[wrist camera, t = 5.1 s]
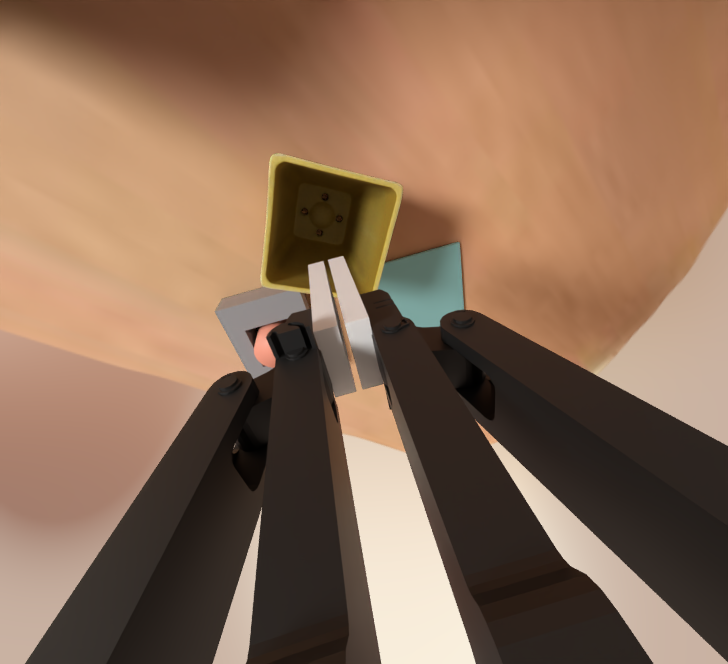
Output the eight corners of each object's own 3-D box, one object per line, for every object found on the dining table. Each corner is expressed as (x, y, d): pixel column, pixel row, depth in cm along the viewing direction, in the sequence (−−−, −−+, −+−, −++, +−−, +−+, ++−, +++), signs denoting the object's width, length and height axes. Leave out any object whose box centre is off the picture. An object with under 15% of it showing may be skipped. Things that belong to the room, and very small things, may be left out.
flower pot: (357, 268, 32) (374, 304, 25) (269, 254, 30) (259, 288, 22) (377, 176, 28) (406, 184, 21) (279, 151, 26) (269, 150, 18)
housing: (221, 298, 31) (214, 311, 29) (298, 277, 32) (298, 287, 29) (260, 374, 37) (257, 390, 34) (326, 354, 37) (328, 369, 34)
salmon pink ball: (252, 320, 33) (246, 340, 29) (289, 310, 33) (288, 328, 29) (267, 351, 35) (263, 372, 31) (301, 340, 35) (302, 361, 31)
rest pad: (366, 267, 32) (367, 268, 32) (458, 241, 33) (459, 242, 32) (384, 345, 38) (385, 346, 37) (463, 321, 38) (464, 323, 38)
